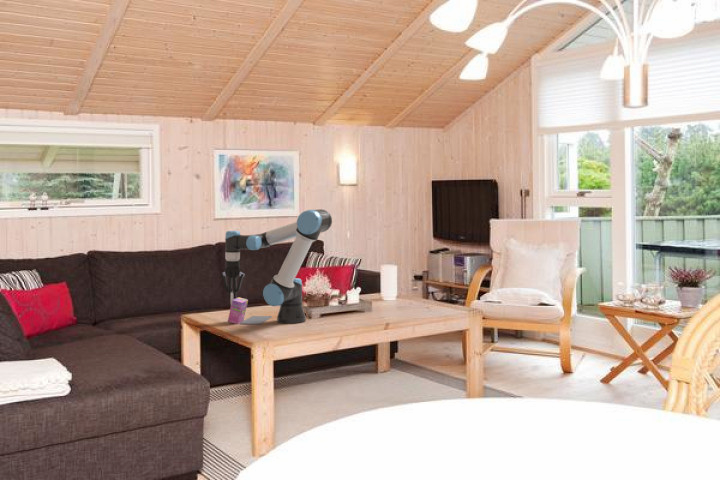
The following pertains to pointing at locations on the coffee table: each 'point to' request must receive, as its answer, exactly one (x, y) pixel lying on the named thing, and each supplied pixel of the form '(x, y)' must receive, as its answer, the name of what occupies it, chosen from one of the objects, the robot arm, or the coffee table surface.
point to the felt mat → (256, 320)
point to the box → (237, 310)
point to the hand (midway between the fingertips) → (232, 304)
